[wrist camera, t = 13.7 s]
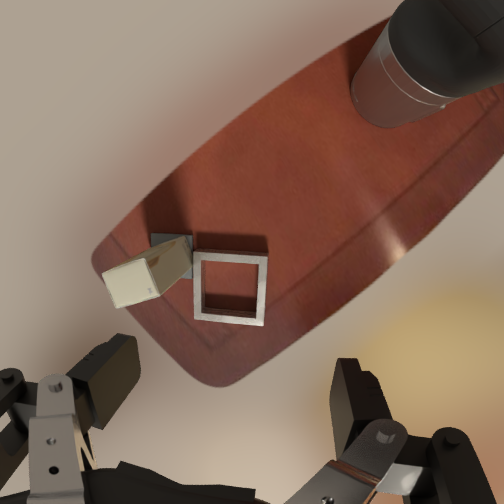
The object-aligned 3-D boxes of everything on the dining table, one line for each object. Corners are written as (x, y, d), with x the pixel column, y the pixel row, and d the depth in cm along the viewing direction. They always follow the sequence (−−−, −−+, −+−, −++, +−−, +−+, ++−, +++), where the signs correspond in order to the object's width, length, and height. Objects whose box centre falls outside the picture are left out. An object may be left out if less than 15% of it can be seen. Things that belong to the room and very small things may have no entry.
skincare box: (185, 234, 41) (146, 255, 29) (196, 264, 42) (163, 296, 30) (145, 249, 42) (99, 273, 30) (157, 277, 43) (114, 310, 31)
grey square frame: (268, 252, 41) (267, 256, 39) (264, 319, 43) (263, 325, 41) (198, 248, 42) (193, 251, 40) (198, 312, 44) (194, 319, 42)
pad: (192, 235, 42) (191, 235, 41) (192, 277, 43) (191, 279, 42) (152, 232, 42) (150, 233, 42) (153, 274, 44) (152, 275, 43)
